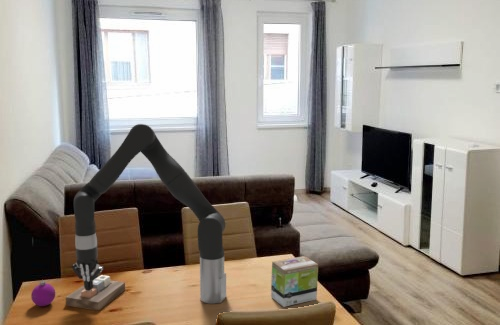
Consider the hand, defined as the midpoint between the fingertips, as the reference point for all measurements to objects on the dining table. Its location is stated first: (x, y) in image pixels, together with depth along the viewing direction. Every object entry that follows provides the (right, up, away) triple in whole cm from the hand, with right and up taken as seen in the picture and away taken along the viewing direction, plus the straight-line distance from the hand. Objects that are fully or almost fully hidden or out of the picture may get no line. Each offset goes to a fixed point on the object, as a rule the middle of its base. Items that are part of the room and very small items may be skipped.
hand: (88, 289), depth 176 cm
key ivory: (+3, -1, +9) cm, 9 cm away
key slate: (+1, -1, +4) cm, 5 cm away
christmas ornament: (-16, -6, -1) cm, 17 cm away
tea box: (+77, -5, +5) cm, 78 cm away
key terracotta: (0, -3, 0) cm, 3 cm away
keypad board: (+1, -4, +5) cm, 7 cm away
